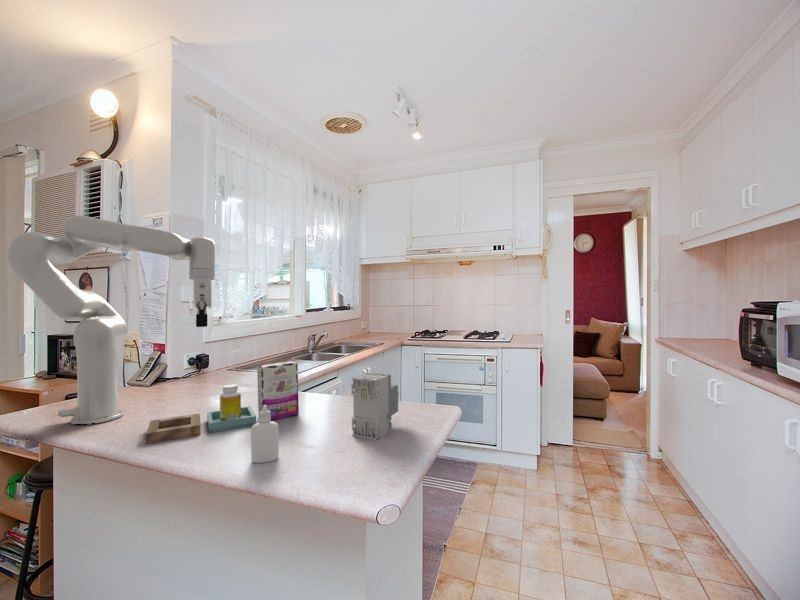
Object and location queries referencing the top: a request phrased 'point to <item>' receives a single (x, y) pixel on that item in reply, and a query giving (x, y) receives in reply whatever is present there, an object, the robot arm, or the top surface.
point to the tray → (230, 420)
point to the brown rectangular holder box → (173, 428)
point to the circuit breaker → (373, 404)
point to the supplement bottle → (230, 402)
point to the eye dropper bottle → (264, 438)
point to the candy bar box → (278, 389)
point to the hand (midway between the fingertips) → (201, 326)
